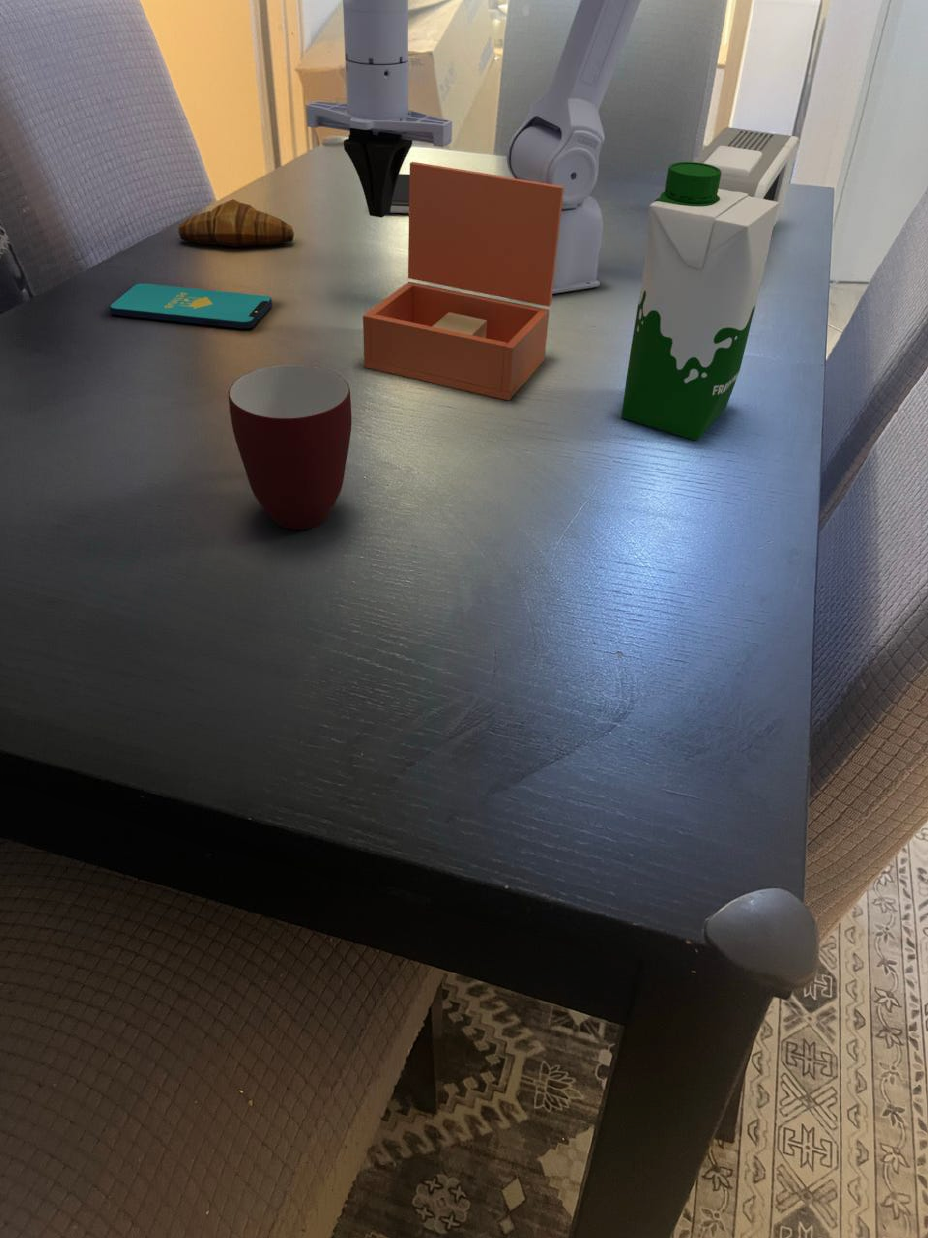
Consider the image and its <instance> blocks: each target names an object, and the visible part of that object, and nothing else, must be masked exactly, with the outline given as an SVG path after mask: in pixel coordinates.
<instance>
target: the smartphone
mask: <svg viewBox="0 0 928 1238" xmlns="http://www.w3.org/2000/svg"><path fill="white" fill-rule="evenodd" d="M272 306H273V300H272V297H271V296H269V295H261V294H254V293H253V294H251V293H242V292H231V291H222V290H213V289H203V288H192V287H182V286H174V285H173V286H172V285H163V284H155V283H154V284H153V283H145V282H144V283H142V282H141V283H137V284H134V285H133V286H132V287H131V288H129V289H128V290H127V291H126V292H125V293H123V294H122V295H121V296H120V297H119V298H117V299H116V300H115V301H114V302H112V303H111V304H110V305H109V310H110V314H111V315H115V316H123V317H132V318H142V319H151V320H161V321H169V322H180V323H188V324H189V323H190V324H198V325H208V326H217V327H224V328H225V327H227V328H235V329H236V328H237V329H251V328H253V327H255V325H256V324H257V323H258V322H259V320H260V319H262V317H263V316H264V315H265V314H266V312H268V310H269V309H270V308H271V307H272Z"/></svg>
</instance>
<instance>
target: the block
mask: <svg viewBox="0 0 928 1238" xmlns="http://www.w3.org/2000/svg"><path fill="white" fill-rule="evenodd" d="M432 327H436V328H440V329H445V330H450V331H454V332H459V333H464V334H468V335H473V336H478V337H482V338H486V331H487V320H483V319H478V318H474V317H469V316H464V315H459V314H454V313H450V312H449V313H447V314H446V315H445V316H444V317H443V318H441V319H440V320H439V321H438V322H437V323H436V324H434V325H433V326H432Z"/></svg>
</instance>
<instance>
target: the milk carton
mask: <svg viewBox="0 0 928 1238" xmlns="http://www.w3.org/2000/svg"><path fill="white" fill-rule="evenodd" d="M667 168H668V169H667V174H666V181H665V186H664V191H663V192H662V193H660V196H659V197H658V198H656V199H655V200H654V201H653V202H652V203H651V204H649V206H648V217H647V218H648V219H647V237H646V238H647V239H646V252H645V257H644V258H645V259H644V265H643V271H642V278H641V283H640V290H639V296H638V302H637V308H636V315H635V322H634V327H633V332H632V333H633V334H632V340H631V347H630V353H629V359H628V366H627V373H626V380H625V387H624V395H623V401H622V409H621V416H620V417H621V419H625V420H627V421H631V422H635V423H638V424H641V425H644V426H647V427H651V428H653V429H656V430H660V431H664V432H666V433H669V434H673V435H675V436H680V437H682V438H686V439H688V440H692V441H696V442H697V441H698V440H699V439H700V438H701V437H702V436H703V435H704V434H705V432H707V431H708V429H710V427H711V426H712V425H713V424H714V423H715V422H716V421H717V419H719V417H720V416H721V415H722V414H724V412H725V411H726V409H727V407H728V403H729V400H730V398H731V395H732V392H733V390H734V387H735V384H736V381H737V379H738V376H739V374H740V370H741V367H742V363H743V360H744V355H745V351H746V346H747V342H748V339H749V335H750V330H751V327H752V322H753V319H754V318H753V317H754V313H755V310H756V305H757V301H758V297H759V294H760V289H761V284H762V280H763V276H764V272H765V269H766V263H767V258H768V254H769V249H770V244H771V241H772V237H773V236H772V235H773V231H774V227H775V226H774V223H775V218H776V214H777V209H778V205H779V202H775V201H770V200H765V199H760V198H755V197H750V196H749V195H748V194H747V193H742V192H737V191H735V192H733V191H727V190H722V189H719V184H720V178H721V170H720V169H719V168H717V167H715V166H712V165H708V164H703V163H696V162H693V161H679V162H674V163H671V164H669V166H668V167H667Z"/></svg>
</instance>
